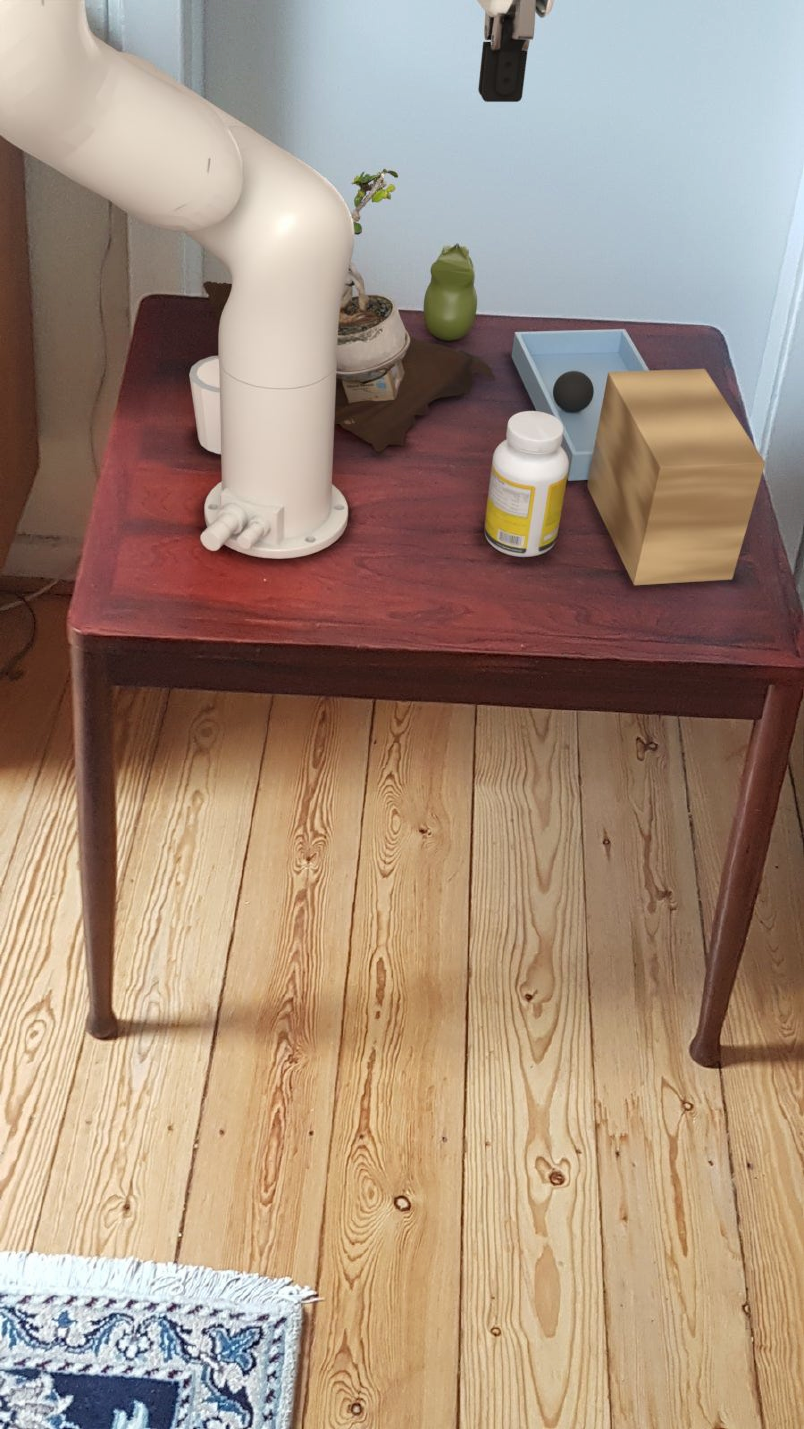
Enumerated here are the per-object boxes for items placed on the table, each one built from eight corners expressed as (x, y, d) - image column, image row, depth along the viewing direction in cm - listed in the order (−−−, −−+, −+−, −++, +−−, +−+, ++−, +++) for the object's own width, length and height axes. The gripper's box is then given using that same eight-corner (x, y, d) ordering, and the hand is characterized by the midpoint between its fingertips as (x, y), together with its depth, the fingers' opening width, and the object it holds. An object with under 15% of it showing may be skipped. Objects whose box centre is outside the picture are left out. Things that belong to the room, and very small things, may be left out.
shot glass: (231, 467, 132) (229, 400, 127) (176, 439, 135) (173, 373, 130) (279, 437, 136) (280, 372, 131) (226, 411, 139) (224, 345, 134)
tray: (689, 475, 136) (696, 449, 134) (568, 481, 134) (572, 454, 132) (620, 353, 152) (625, 328, 150) (511, 357, 150) (514, 331, 148)
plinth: (732, 579, 125) (765, 462, 116) (633, 585, 123) (660, 467, 115) (678, 482, 135) (705, 368, 127) (586, 486, 134) (607, 371, 125)
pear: (475, 329, 154) (486, 240, 147) (469, 352, 150) (479, 263, 144) (424, 321, 155) (432, 233, 148) (417, 345, 151) (424, 255, 144)
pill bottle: (556, 521, 129) (575, 409, 121) (555, 564, 124) (575, 450, 116) (484, 513, 129) (499, 400, 121) (480, 556, 125) (495, 441, 117)
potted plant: (392, 484, 136) (318, 238, 119) (248, 453, 146) (162, 224, 130) (504, 372, 146) (450, 131, 129) (361, 351, 156) (295, 126, 140)
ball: (572, 386, 138) (594, 363, 140) (539, 384, 141) (562, 362, 142) (584, 421, 140) (606, 398, 142) (552, 419, 143) (574, 397, 145)
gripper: (455, -194, 106) (434, 64, 118) (501, -142, 95) (473, 135, 108) (553, -190, 107) (522, 64, 120) (609, -139, 97) (569, 135, 109)
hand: (499, 97), depth 114 cm, fingers closed
